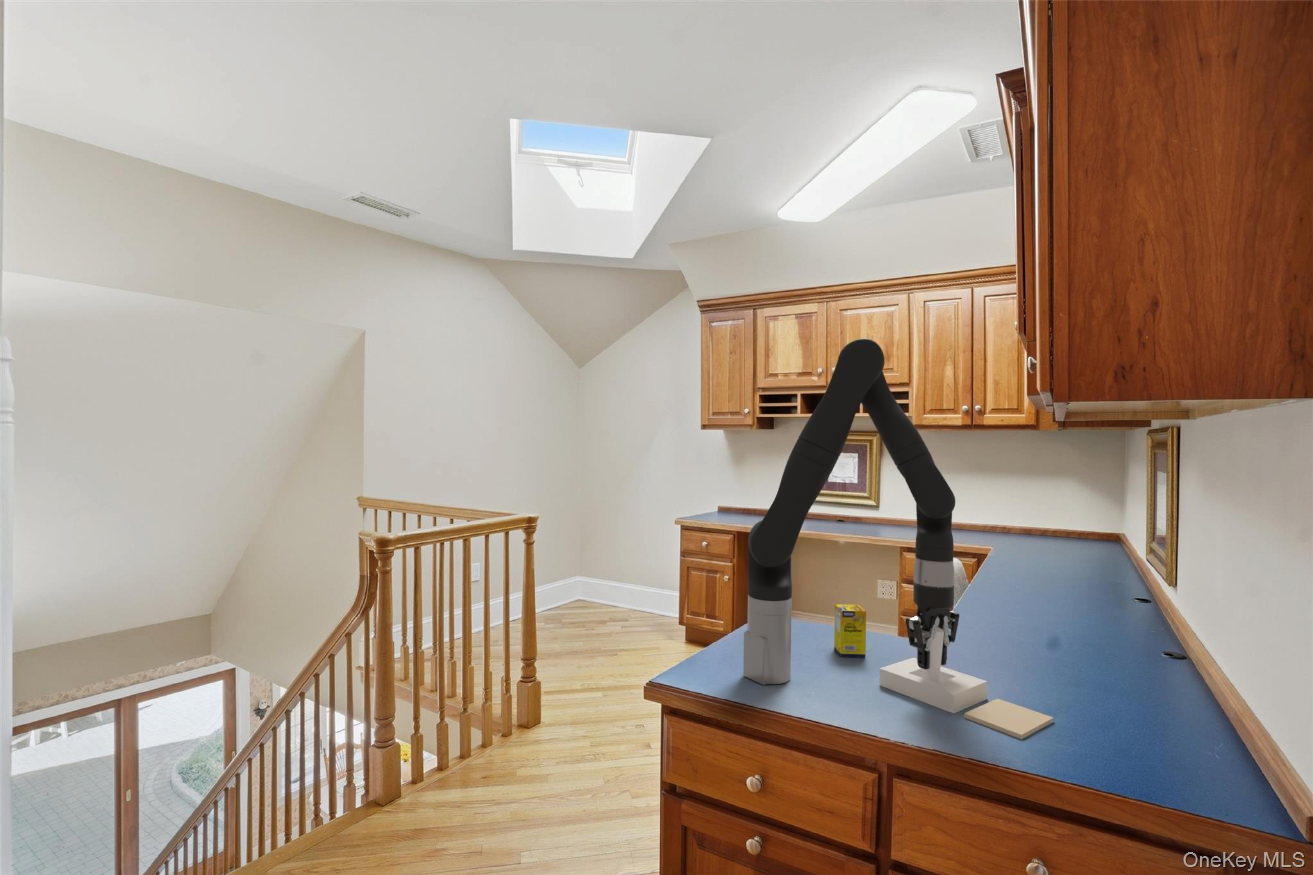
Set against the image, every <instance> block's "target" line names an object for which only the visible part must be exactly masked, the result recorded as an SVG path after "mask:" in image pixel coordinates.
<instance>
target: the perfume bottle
mask: <svg viewBox="0 0 1313 875" xmlns="http://www.w3.org/2000/svg"><path fill="white" fill-rule="evenodd" d="M922 632H923V633H924V634H929V632H927V631H923V630H922ZM943 637H944V631H943V629H941V628H939V627H937V629H936V633H935V638H934V640H932V641H931V645H930V649H929V651H930V668H929V669H926V670H925V669H923V668H922V678H924V679H927V680H930V681H933V682H936V683H939V678H940V668H941V666H942V665H941V657H942V647H943ZM925 640H926V638H925V637H924V638H923V643H924V644H925Z"/></svg>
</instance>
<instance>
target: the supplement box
mask: <svg viewBox="0 0 1313 875" xmlns="http://www.w3.org/2000/svg"><path fill="white" fill-rule="evenodd" d="M866 631H867V611H866V610H865V609H864V608H863V607H862V606H861V605H859V604H841V603H840V604H835V605H834V638H833V640H834V645H833V646H834V648H833V649H834V650H835V651H836V652H837V654H838V655H839V656H840V657H841V658H866V656H867V655H866V650H867V649H866V647H867V645H866V644H867V643H866V642H867V639H866V638H867V637H866V636H867V632H866Z"/></svg>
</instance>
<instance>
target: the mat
mask: <svg viewBox="0 0 1313 875" xmlns="http://www.w3.org/2000/svg"><path fill="white" fill-rule="evenodd" d="M963 717H964V719H967V720H969V721H972V722H974V723H978V724H980V725H983V726H985V727H987V728H991V729H993V730H996V731H998V732H1000V733H1003V734H1006V735H1009V736H1011V737H1014V738H1016V739H1019V740H1023V739H1025V738H1027V737H1029V736H1030V735H1033V734H1034V733H1036V732H1038V731H1040V730H1042V729H1043V728H1045V727H1047V726H1049V725H1051V724H1053V723H1054V717H1053V716H1051V715H1046V714H1045V713H1041V712H1038V711H1035V710H1032V709H1029V708H1027V707H1024V706H1021V705H1018V704H1015V703H1012V702H1008V701H1006V700H1003V699H1000V698H996V699H993V700H991V701H989V702H986V703H984V704H982V705H980V706H977V707H975V708H973V709H971V710H968V711H966V712H965V713H964V715H963Z"/></svg>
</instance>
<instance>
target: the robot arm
mask: <svg viewBox="0 0 1313 875" xmlns="http://www.w3.org/2000/svg"><path fill="white" fill-rule="evenodd" d="M885 360H886V359H885V354H884V351H883V349H882V348H881V346H880V345H879V344H878V343H877V342H876V341H875V340H872V339H870V338H858V339H854V340H852V341H849V343H847V344H846V345H845V346H843V348H842V349H841V351H840V352H839V355H838V358H837V360H836V364H835V368H834V370H833V373H832V375H831V378H830V380H829V383H828V386H827V388H826V390H825V393H824V394H823V397H822V398H821V400H819V403H818V404H817V406H816V407H815V409H814V410H813V411H812V413H811V415H810V417H809V418H808V420H807V422H806V424H805V425H804V427H803V428H802V430H801V432H800V434H799V436H798V437H797V440H796V442H795V444H794V446H793V448H792V450H791V451H790V454H789V456H788V458H787V461H786V465H785V467H784V470H783V473H782V476H781V479H780V483H779V486H778V489H777V492H776V495H775V497H774V500H773V501H772V504H771V505H770V507H769V508H768V510H767V511H766V514H765V515H764V517H763V519H762V520H759V521H758V522H756V523H755V524H754V525H753V526H752V527H751V529H750V531H749V534H748V539H747V541H748V542H747V628H746V629H747V630H745V631H744V633H743V666H742V667H743V670H742V671H743V672H742V673H743V677H745V678H747V679H750V680H751V681H753V682H756V683H758V684H760V685H763V686H765V685H779V684H780V685H781V684H784V683H788V682H789V681H790V680H791V678H792V674H791V672H792V666H791V665H792V610H793V609H792V604H793V603H792V602H793V601H792V600H793V598H792V596H793V584H792V583H793V582H792V554H793V552H794V550H795V549H794V548H795V546H796V544H797V541H798V538H799V535H800V533H801V530H802V527H803V525H804V522H805V520H806V518H807V515H808V513H809V511H810V509H811V508H812V507H813V505H814V503H815V501H817V500H816V499H818V497H819V495H820V493H821V491H822V490H823V488H824V486H825V485H826V483H827V481H828V480H829V477H830V476H831V474H832V472H833V470H834V468H835V466H836V464H837V462H838V461H839V457H840V456H841V454H842V452H843V450H844V447H845V445H846V441H847V440H848V437H849V434H850V431H851V428H852V425H853V422H854V419H855V417H856V415H857V411H858V410H859V407H860V405H862V407H863V408H864V409H865V411H866V413H867V414H868V416H869V417H870V419H871V421H872V423H873V425H874V427H875V428H876V431H877V433H878V435H879V437H880V439H881V441H882V442H883V445H884V447H885V448H886V451H887V452H888V454H889V456H890V458H891V460H892V462H893V463H894V465H895V466H896V469H897V470H898V472H899V474H900V475H902V477H903V479H904V480H905V483H906V485H907V487H908V489H909V491H910V493H911V495H912V497H913V499H914V501H915V503H916V504H915V509H916V510H915V511H916V536H915V549H914V550H915V552H914V553H915V554H914V556H915V558H914V559H915V560H914V566H913V585H912V586H913V591H912V592H913V594H912V595H913V596H912V598H913V599H912V601H913V604H916V606H917V610H916V613H915V616H914V617H912V618H911V617H906V618H905V625H906V631H907V632H906V633H907V637H908V643H909V646H910V647H913V648H916V650H917V651H916V652H917V659H918V660H917V663H918V666H919V667H920V668H923V669H925V670H926V669H929V668H930V651H929V649H930V645H931V641H932V640H934V638H935V633H936V629H937V627H939V628H941V629H943V631H944V637H943V647H942V657H941V666H946V665H947V658H948V647H949V646H950V645H951V643H955V642H956V638H957V631H958V626H959V619H960V613H958V612H956V611H955V612H954V611H952V610H950V609H952V608H953V607H954V605H955V565H954V564H955V563H954V548H955V546H954V536H953V533H952V528H953V527H952V525H953V523H952V522H953V511H954V509H955V507H956V497H955V494H954V492H953V490H952V489H951V487H950V485H949V484H948V482H947V480H946V479H945V478H944V476H943V474H942V473H941V471H940V470H939V468H938V466H937V465H936V463H935V460H934V458H933V456H932V454H931V451H929V448H928V446H927V444H926V443H925V441H924V439H923V437H922V436H921V434H920V432H919V431H918V430H917V428H916V426H915V425H914V423H913V422H912V421H911V420H910V418H909V417H908V416H907V414H906V413H905V412H904V410H903V409H902V408H901V405H899V403H898V402H897V400H896V399H895V397H894V395H893V393H892V390H891V389H890V387H889V384H888V382H887V380H886V378H885V374H884V372H883V369H884V368H885ZM922 630H923V631H927V632H929V634H924V633H923V632H922ZM924 637H925V638H926V640H925V644H924V643H923V638H924Z"/></svg>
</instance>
